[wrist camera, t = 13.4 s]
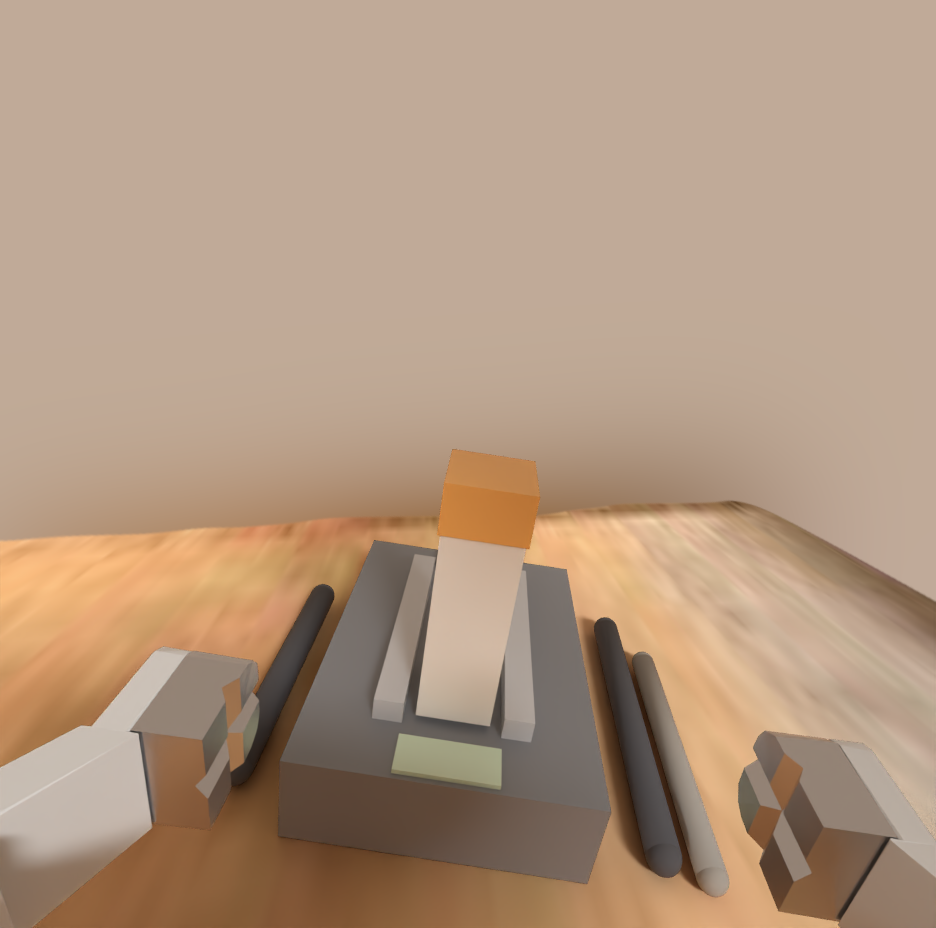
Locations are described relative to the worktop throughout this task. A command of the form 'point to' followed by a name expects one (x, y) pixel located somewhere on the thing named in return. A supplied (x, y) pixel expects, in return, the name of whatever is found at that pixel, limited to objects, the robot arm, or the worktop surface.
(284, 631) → the worktop surface
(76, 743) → the robot arm
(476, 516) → the lever
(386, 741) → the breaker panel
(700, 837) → the cords
